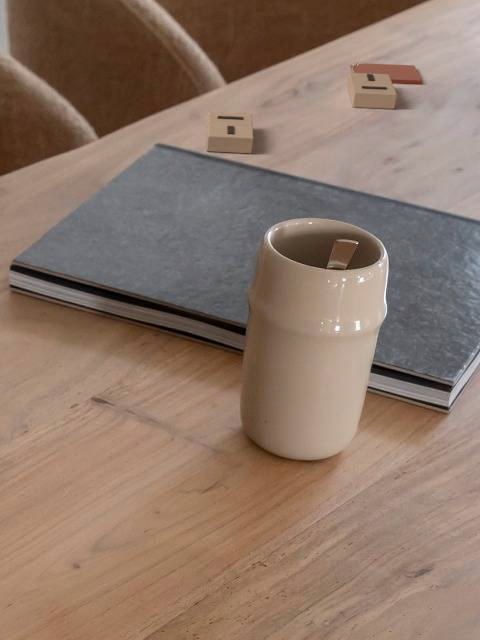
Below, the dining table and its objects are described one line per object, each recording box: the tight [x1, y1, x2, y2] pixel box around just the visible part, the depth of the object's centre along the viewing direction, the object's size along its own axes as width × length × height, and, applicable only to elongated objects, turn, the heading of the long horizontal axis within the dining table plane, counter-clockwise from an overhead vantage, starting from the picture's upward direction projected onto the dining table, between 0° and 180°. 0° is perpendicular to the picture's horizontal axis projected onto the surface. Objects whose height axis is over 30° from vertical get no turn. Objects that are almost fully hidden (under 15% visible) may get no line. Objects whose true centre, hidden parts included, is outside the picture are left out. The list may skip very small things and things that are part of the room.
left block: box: [206, 111, 254, 154], centre depth 115 cm, size 3×7×1 cm, turn 169°
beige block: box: [346, 72, 398, 110], centre depth 125 cm, size 3×7×1 cm, turn 169°
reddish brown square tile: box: [352, 62, 422, 85], centre depth 132 cm, size 6×6×1 cm
